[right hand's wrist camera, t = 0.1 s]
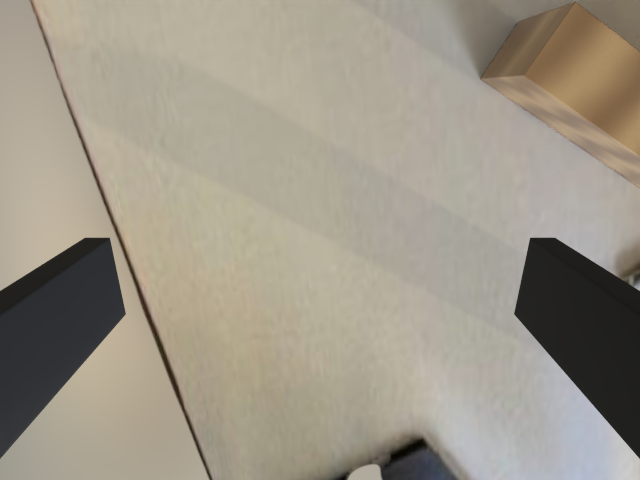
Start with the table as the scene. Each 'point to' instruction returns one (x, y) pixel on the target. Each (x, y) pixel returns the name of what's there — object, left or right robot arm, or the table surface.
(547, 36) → the bar
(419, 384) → the table surface
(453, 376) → the table surface
